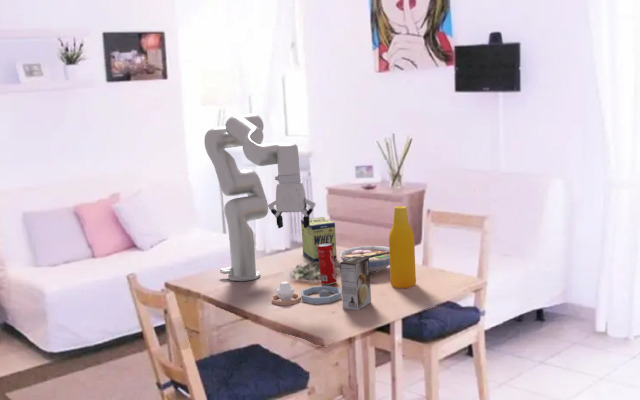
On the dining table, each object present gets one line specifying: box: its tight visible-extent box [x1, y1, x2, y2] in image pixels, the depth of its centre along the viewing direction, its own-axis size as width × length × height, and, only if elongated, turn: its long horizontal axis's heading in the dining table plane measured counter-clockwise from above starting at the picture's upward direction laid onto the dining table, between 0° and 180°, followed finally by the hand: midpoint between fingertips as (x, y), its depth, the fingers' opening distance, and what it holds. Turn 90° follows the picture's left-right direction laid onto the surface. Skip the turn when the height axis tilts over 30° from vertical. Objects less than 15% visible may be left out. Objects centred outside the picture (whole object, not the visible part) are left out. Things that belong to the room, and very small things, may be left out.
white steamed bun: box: [275, 281, 295, 301], centre depth 273 cm, size 6×6×7 cm
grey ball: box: [318, 290, 330, 297], centre depth 272 cm, size 4×4×4 cm
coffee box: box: [339, 256, 372, 311], centre depth 263 cm, size 9×6×16 cm
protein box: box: [300, 216, 338, 263], centre depth 331 cm, size 10×16×16 cm
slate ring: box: [300, 285, 342, 305], centre depth 275 cm, size 14×14×2 cm
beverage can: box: [318, 243, 337, 286], centre depth 291 cm, size 6×6×15 cm
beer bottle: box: [388, 205, 417, 289], centre depth 282 cm, size 9×9×29 cm
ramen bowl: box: [339, 245, 390, 274], centre depth 305 cm, size 25×23×8 cm
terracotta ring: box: [270, 292, 301, 306], centre depth 274 cm, size 10×10×1 cm
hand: (293, 227), depth 274 cm, fingers open, 9 cm apart
